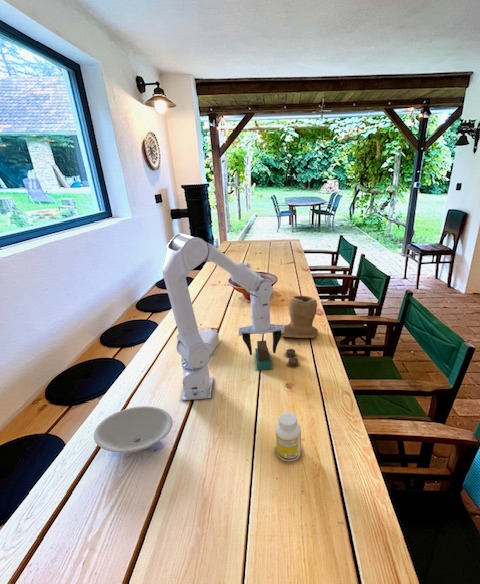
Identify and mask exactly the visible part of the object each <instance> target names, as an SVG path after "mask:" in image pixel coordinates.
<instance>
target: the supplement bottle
mask: <svg viewBox="0 0 480 584" xmlns="http://www.w3.org/2000/svg"><path fill="white" fill-rule="evenodd" d="M275 439H276V440H275V443H276V453H277V457H279V459H281V460H282V461H285V462H294V461H296V460H297V459H299V458H300V457H301V454H302V427H301V426H300V424H299V423H298V416H297V415H296V414H295V413H293V412H288V411H287V412H286V411H285V412H282V413H281V414H279V416H278V423H277V424H276V427H275Z"/></svg>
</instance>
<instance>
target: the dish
mask: <svg viewBox="0 0 480 584" xmlns="http://www.w3.org/2000/svg"><path fill="white" fill-rule="evenodd" d="M172 428H173V418H172V416H171V415H170V412H168V411H166V410H164V409H162V408H160V407H156V406H148V405H147V406H145V405H144V406H142V405H141V406H133V407H129V408H125V409H122V410H119V411H117V412H114V413H111V415H109V416H107V417H105V418H104V419H103V420H102V421H101V422H100V423H99V424H98V425H97V426H96V428H95V430H94V433H93V440H94V442H95V444H96V445H97V446H98V447H99V448H101V449H103V450H105V451H108V452H113V453H125V454H126V453H127V454H129V453H137V452H141V451H144V450H146V449H148V448H151V447H152V446H154V445H155V444H157V443H159V442H161V441H162V440H163V439H164V438H165V437H166V436H167V435H168V434H169V433H170V432H171V430H172Z"/></svg>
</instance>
